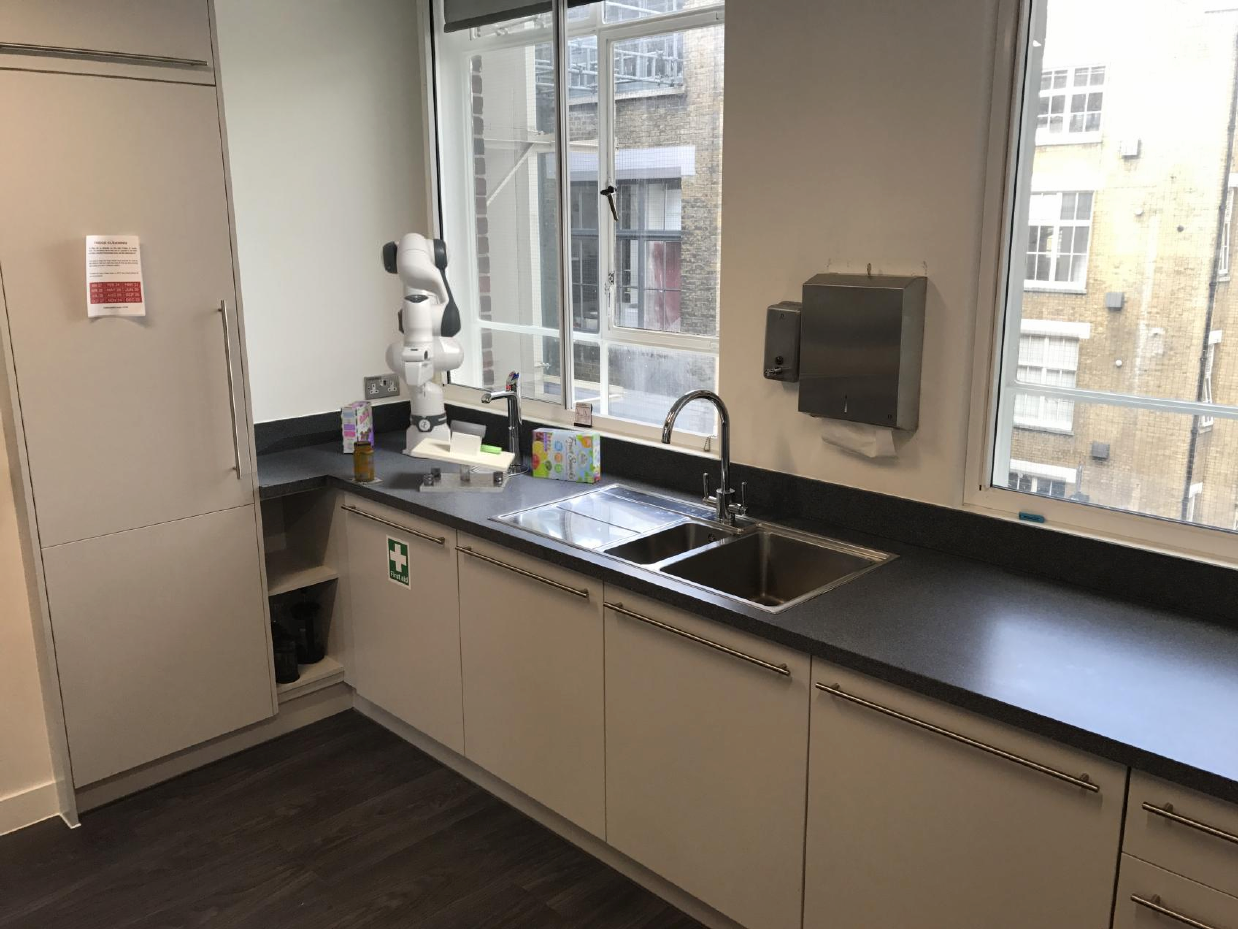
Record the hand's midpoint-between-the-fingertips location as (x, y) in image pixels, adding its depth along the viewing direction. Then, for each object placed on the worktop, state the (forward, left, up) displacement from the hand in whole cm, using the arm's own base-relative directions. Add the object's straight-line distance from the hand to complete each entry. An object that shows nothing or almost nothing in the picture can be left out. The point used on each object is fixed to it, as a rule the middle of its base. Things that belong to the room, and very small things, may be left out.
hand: (421, 397), depth 299 cm
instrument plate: (0, +12, -18) cm, 21 cm away
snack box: (-9, +42, -27) cm, 50 cm away
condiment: (-5, -20, -27) cm, 34 cm away
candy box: (-46, -34, -27) cm, 63 cm away
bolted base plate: (0, +12, -27) cm, 29 cm away
